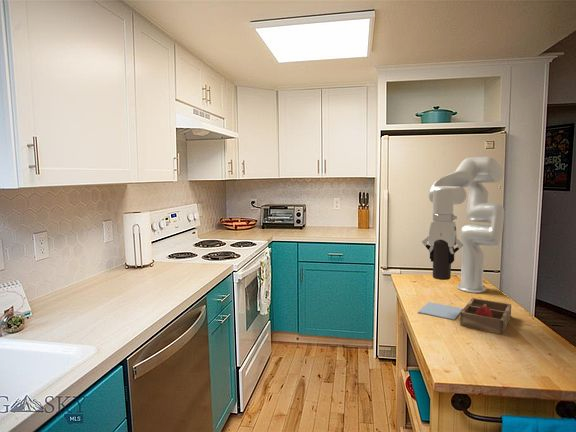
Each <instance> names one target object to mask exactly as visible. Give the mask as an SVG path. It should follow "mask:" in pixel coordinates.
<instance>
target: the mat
mask: <svg viewBox="0 0 576 432" xmlns="http://www.w3.org/2000/svg"><path fill="white" fill-rule="evenodd" d="M463 309H464V308H463V307H457V306H452V305H447V304H441V303H436V302H432V301H431V302H430V301H428V302H427V303H425V305H424V306H423V307H421V309H419V310H418V311H417V313H418V314H421V315H426V316H432V317H436V318H441V319H446V320H451V321H455V320H456V319H457V318H458V316H459V315H461V311H462V310H463Z"/></svg>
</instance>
